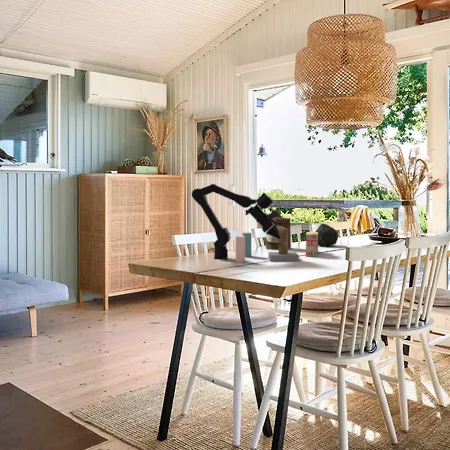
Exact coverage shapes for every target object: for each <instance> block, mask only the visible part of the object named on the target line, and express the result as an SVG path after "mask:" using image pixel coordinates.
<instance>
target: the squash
mask: <svg viewBox="0 0 450 450" xmlns="http://www.w3.org/2000/svg"><path fill="white" fill-rule="evenodd" d="M315 232H318V245H319V246H318V247H325V246H327V247H329V246H330V247H332V246H334V245H336V244H337V242H338V238H339V234H338V231H337V230H336V229H335V228H333V227H332V226H330V225H328V224H326V223H323V222H322V223H320V225H319V226H318V227H317V228H316V230H315Z"/></svg>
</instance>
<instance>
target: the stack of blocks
mask: <svg viewBox="0 0 450 450" xmlns="http://www.w3.org/2000/svg"><path fill="white" fill-rule="evenodd" d="M318 254H319V246H318V232H316V231H315V232H314V231H307V232H305V257H307V258H318V256H319V255H318Z"/></svg>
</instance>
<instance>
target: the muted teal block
mask: <svg viewBox="0 0 450 450" xmlns="http://www.w3.org/2000/svg"><path fill="white" fill-rule="evenodd" d="M242 236H245V258H251V257H252V232H242Z"/></svg>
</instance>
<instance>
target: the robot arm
mask: <svg viewBox="0 0 450 450" xmlns="http://www.w3.org/2000/svg"><path fill="white" fill-rule="evenodd" d="M212 193H215V194H217V195H219V196H222V197H224V198H225V199H226V198H227V199H229V200H231V201H233V202H234V203H236V205H237V204H238V205H239V206H240V207H242V208H244V209H245V208H246V209H245V210H244V211H245V214H244V215H245V216H247V215H248V216H249V215H250V216H251V217H252V218H253V219H254V220H255V221H256V222H257V223H258V224H259V225H260V226H261V229H262V232H263V233H265V235H266V234H269V235H271V236H273V237H276V238H278V239H280V238H281V237H280V236H279V230H278V229H277V227H276V226H277V223H276V221H275V220H274V219H273V218H275V217H279V216H280V214H279V212H280V211H279V209H278V210H276V209H272V210H271V212H270V213H267V212H264V209H265V210H267V209H268V208H269V207H270V206H272V204H273V203H274V200H273V199H272V198H271V197H270V196H268V195H267V193H266V192H263V193H261V195H260V196H259V197H258V198H257V199H253V198H252V197H250V196H248V195H243V194H240V193H239V194H238V193H235V192H233V191H231V190H229V189H225V188H224V187H221V186H218V185H217V184H216V183H215V184H214V183H212V184H209V185H207V186H204V187H202V188H195V189H193V190H192V192H191V197H192V199H193V200H194V201H195V202H196V203H197V204H198V205H199V207H201V209H202V210H203V213H204V214H205V216H206V217H207V220H208V221H209V223H210V224H211V226H212V227H213V230H214V232H215V236H216V241H214V242H213V246H214V251H213V252H214V254H213V255H214V257H213V259H214V260H215V259H216V260H217V259H218V260H219V259H221V260H224V259H225V260H227V258H228V253H229V252H228V251H229V250H228V248H227V244H228V243H229V242H230V241H231V232H230V231H229V229H228V227H227V226H226V227H223V226H222V224H221V223H220V221H219V219H218V217H217V215H216V214H215V212H214V211H213V209H212V207H211V205H210V203H209V202H208V199H207V195H210V194H212ZM253 205H254V206H253ZM247 208H248V209H247ZM275 223H276V224H275ZM274 224H275V225H274ZM266 231H267V232H266Z"/></svg>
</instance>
